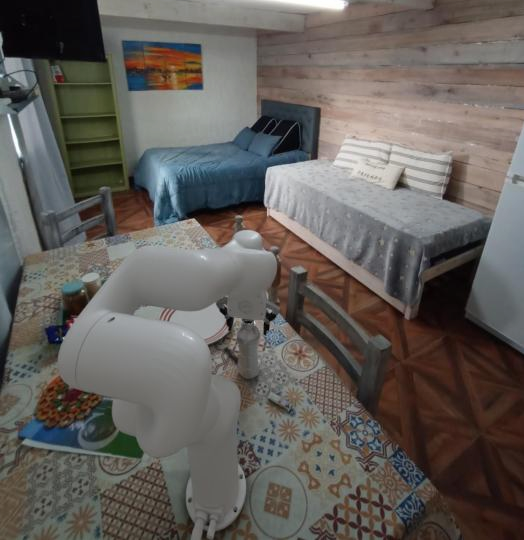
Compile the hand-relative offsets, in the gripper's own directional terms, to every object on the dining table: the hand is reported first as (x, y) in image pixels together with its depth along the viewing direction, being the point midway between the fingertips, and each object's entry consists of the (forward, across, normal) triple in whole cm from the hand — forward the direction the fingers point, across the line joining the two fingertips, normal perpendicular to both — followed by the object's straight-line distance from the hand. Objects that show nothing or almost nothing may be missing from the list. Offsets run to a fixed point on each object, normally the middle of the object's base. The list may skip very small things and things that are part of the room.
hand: (248, 329), depth 86 cm
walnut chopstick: (+17, -6, +5) cm, 19 cm away
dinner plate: (+17, -22, +17) cm, 32 cm away
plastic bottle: (+17, 0, +1) cm, 17 cm away
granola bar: (+17, +10, -7) cm, 21 cm away
